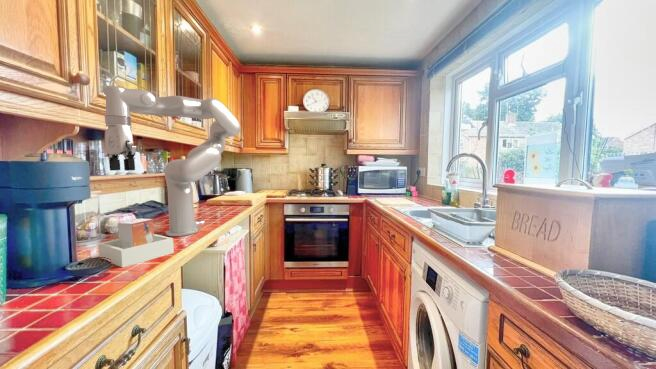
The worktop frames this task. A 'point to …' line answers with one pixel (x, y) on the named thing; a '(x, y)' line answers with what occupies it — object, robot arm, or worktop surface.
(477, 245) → the worktop surface
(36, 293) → the worktop surface
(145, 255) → the storage bin
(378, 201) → the worktop surface
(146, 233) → the small box
